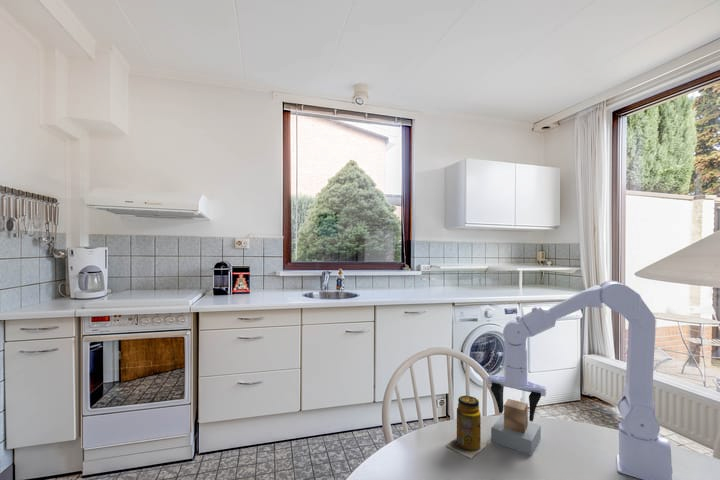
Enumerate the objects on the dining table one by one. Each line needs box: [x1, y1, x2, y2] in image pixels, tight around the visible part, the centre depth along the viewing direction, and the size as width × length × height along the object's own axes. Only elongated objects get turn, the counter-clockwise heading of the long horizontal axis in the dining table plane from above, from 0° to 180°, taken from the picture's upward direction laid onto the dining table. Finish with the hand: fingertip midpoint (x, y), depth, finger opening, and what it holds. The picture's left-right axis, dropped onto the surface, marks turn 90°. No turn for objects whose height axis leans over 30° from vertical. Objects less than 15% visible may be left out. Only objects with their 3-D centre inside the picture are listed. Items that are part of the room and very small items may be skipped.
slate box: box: [490, 413, 542, 456], centre depth 93 cm, size 10×10×4 cm
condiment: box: [445, 395, 488, 459], centre depth 90 cm, size 7×8×12 cm
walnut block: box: [503, 398, 529, 433], centre depth 93 cm, size 5×5×6 cm
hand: (516, 415), depth 93 cm, fingers open, 7 cm apart
